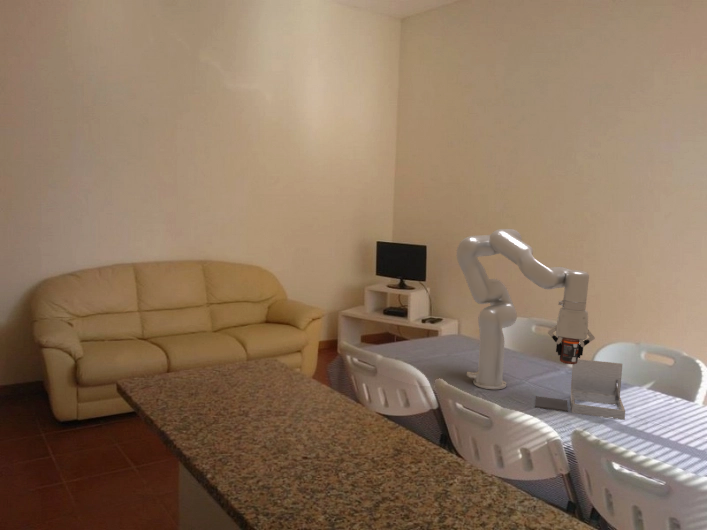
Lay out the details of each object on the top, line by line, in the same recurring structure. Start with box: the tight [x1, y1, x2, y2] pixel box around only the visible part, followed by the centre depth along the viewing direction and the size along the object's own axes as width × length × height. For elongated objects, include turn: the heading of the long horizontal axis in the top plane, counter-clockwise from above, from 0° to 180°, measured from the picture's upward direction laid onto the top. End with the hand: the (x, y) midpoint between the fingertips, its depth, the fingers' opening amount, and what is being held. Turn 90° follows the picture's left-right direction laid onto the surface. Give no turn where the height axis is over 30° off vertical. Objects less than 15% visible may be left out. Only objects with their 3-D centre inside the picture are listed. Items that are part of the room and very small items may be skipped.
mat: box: [534, 395, 569, 413], centre depth 203 cm, size 11×11×1 cm
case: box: [569, 358, 626, 421], centre depth 200 cm, size 17×17×15 cm
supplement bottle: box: [559, 338, 580, 365], centre depth 199 cm, size 6×6×11 cm
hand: (568, 355), depth 200 cm, fingers closed on supplement bottle, 6 cm apart
